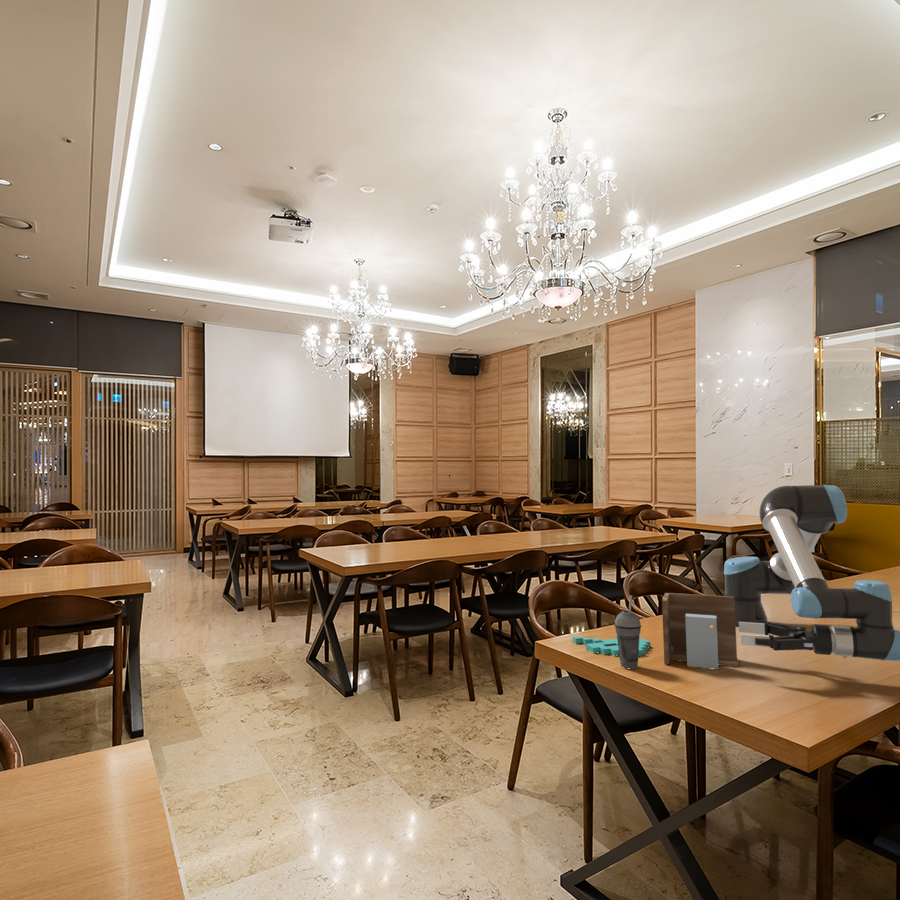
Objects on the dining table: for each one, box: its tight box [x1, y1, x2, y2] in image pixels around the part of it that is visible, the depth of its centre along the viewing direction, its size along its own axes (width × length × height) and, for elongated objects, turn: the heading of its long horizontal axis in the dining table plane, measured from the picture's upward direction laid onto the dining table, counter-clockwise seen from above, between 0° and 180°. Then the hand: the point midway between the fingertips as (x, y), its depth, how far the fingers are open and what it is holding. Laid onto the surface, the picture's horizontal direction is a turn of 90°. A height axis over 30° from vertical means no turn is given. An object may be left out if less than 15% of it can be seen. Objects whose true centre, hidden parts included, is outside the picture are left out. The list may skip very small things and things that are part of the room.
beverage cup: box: [614, 595, 642, 670], centre depth 166 cm, size 7×7×20 cm
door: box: [685, 614, 719, 670], centre depth 164 cm, size 5×8×14 cm, turn 66°
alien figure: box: [572, 636, 651, 657], centre depth 184 cm, size 20×2×20 cm
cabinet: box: [661, 592, 739, 667], centre depth 169 cm, size 12×19×18 cm, turn 66°
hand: (739, 632), depth 161 cm, fingers open, 13 cm apart
